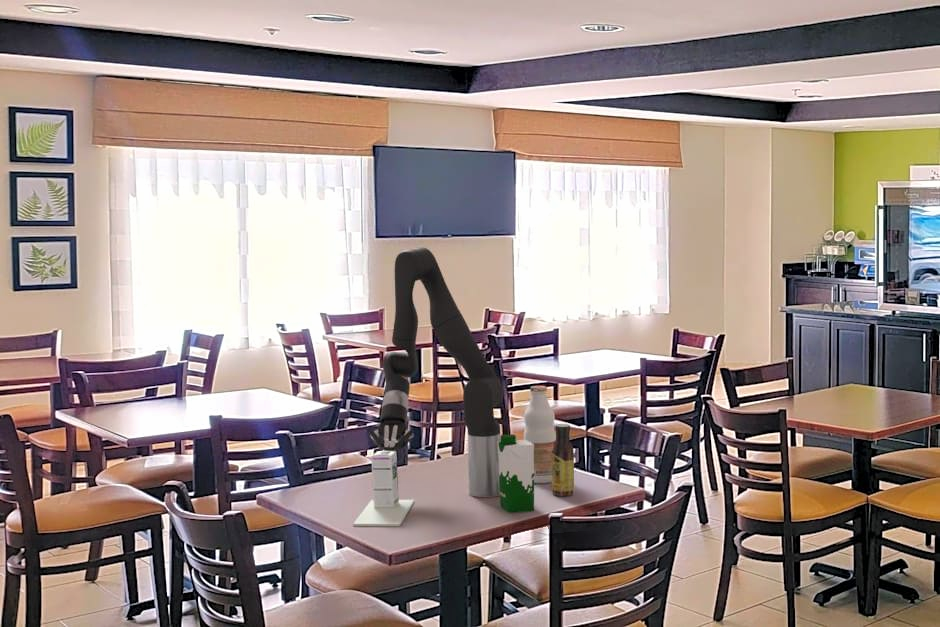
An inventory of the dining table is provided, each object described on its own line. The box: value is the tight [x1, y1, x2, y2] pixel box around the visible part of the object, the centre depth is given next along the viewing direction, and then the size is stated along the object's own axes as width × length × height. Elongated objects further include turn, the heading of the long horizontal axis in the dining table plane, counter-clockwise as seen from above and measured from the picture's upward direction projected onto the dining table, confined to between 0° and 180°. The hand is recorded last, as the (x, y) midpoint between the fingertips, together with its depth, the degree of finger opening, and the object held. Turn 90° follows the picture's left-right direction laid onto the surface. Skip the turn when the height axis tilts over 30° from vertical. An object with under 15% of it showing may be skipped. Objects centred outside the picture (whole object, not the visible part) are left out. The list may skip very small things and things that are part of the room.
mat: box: [352, 499, 415, 527], centre depth 281 cm, size 12×24×1 cm, turn 174°
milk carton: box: [497, 433, 535, 514], centre depth 282 cm, size 9×9×20 cm
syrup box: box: [370, 450, 400, 508], centre depth 287 cm, size 6×6×14 cm
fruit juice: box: [523, 385, 556, 484], centre depth 313 cm, size 9×9×28 cm
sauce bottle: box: [551, 423, 575, 497], centre depth 295 cm, size 7×6×20 cm
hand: (388, 461), depth 293 cm, fingers closed
